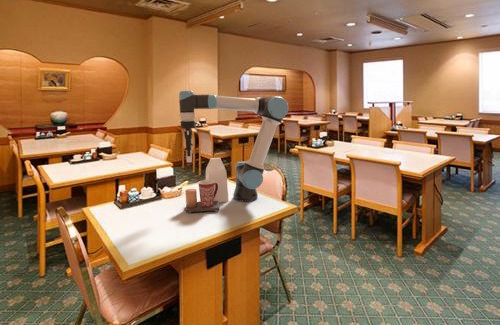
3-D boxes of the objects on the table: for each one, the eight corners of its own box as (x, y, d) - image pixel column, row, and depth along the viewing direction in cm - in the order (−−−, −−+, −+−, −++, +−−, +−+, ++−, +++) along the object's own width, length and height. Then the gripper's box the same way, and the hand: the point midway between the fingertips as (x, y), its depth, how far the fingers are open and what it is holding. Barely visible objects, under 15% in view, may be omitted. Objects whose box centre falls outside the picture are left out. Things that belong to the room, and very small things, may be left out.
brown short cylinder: (197, 203, 185) (196, 188, 183) (197, 207, 179) (196, 191, 177) (186, 204, 184) (185, 189, 182) (186, 207, 178) (185, 192, 176)
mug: (206, 208, 176) (205, 185, 173) (195, 205, 182) (194, 182, 180) (223, 203, 185) (222, 180, 182) (213, 200, 191) (212, 177, 189)
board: (217, 204, 190) (217, 200, 190) (219, 211, 179) (219, 207, 178) (186, 206, 187) (186, 202, 187) (186, 213, 176) (185, 209, 175)
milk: (223, 195, 207) (222, 155, 202) (228, 201, 196) (227, 159, 191) (205, 197, 203) (203, 157, 198) (208, 203, 193) (207, 160, 187)
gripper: (181, 119, 183) (183, 155, 188) (179, 122, 159) (181, 164, 164) (194, 118, 185) (196, 155, 189) (194, 122, 160) (196, 164, 165)
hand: (189, 159), depth 176 cm, fingers open, 13 cm apart
